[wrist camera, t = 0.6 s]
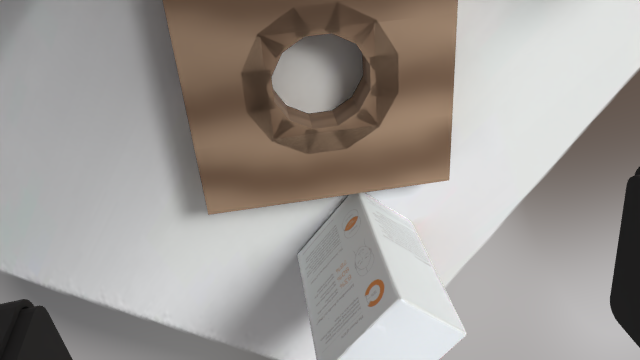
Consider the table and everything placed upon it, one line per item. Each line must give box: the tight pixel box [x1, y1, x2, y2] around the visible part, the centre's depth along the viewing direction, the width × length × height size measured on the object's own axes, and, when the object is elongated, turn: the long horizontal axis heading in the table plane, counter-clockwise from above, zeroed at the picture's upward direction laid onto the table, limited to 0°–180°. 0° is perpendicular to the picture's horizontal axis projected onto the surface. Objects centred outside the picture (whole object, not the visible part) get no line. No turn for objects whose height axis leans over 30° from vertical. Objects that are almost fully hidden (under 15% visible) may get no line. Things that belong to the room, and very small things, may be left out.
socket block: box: [163, 0, 458, 215], centre depth 40 cm, size 18×18×2 cm
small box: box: [297, 192, 467, 360], centre depth 43 cm, size 8×6×13 cm
